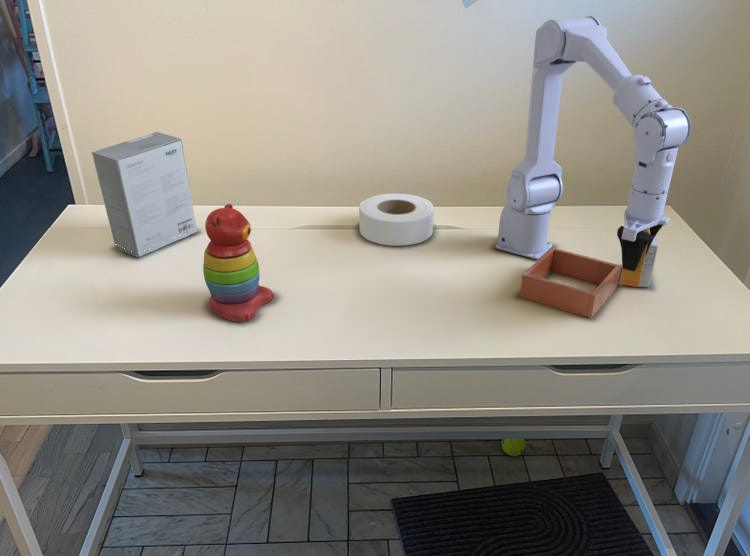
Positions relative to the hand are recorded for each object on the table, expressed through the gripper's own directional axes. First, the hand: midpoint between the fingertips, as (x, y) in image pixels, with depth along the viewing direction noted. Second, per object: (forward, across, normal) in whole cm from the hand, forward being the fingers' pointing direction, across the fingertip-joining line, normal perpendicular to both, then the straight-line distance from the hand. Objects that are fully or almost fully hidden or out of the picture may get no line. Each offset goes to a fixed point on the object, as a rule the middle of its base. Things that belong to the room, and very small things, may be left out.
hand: (632, 264), depth 122 cm
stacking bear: (+9, -37, +57) cm, 69 cm away
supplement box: (+4, 0, 0) cm, 4 cm away
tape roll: (+9, +5, +51) cm, 52 cm away
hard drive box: (+9, -27, +89) cm, 94 cm away
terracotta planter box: (+9, 0, +10) cm, 14 cm away
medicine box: (+9, +13, +2) cm, 16 cm away
